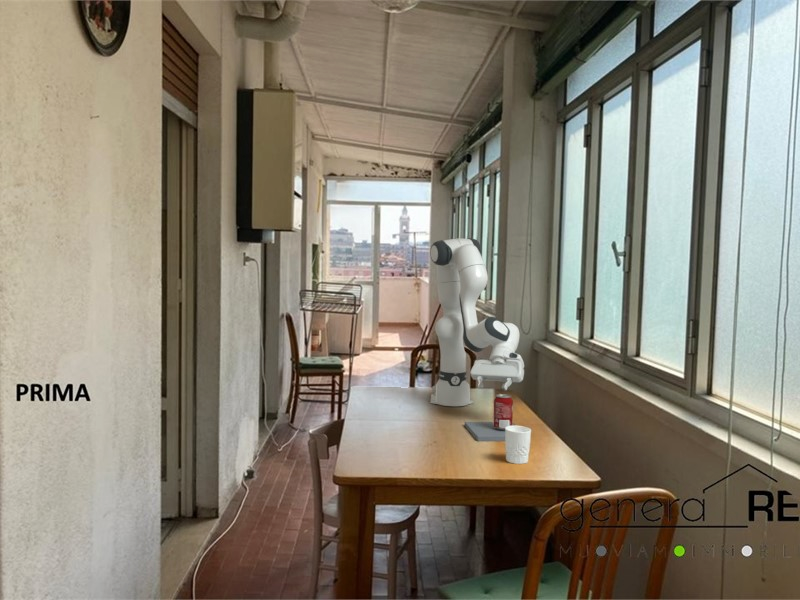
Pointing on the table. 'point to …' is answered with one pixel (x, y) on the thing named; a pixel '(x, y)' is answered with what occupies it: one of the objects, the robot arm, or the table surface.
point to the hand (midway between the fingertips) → (491, 388)
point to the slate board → (485, 431)
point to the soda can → (502, 411)
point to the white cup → (517, 444)
